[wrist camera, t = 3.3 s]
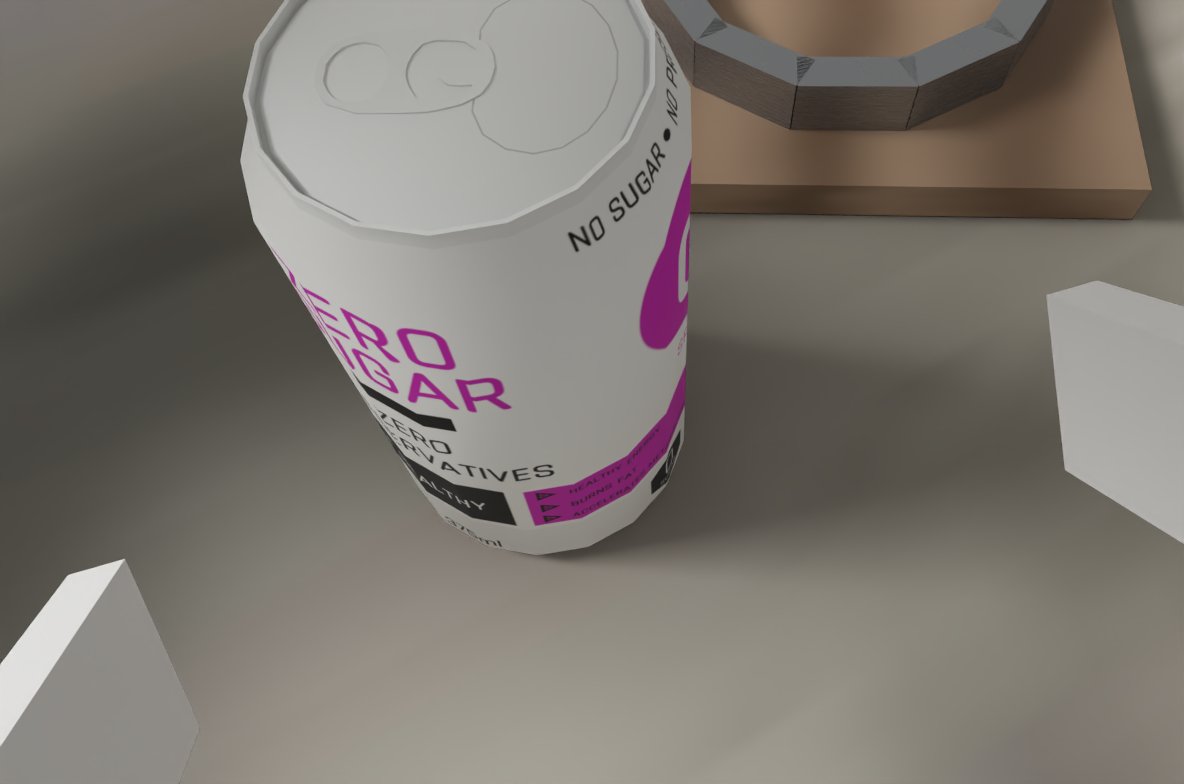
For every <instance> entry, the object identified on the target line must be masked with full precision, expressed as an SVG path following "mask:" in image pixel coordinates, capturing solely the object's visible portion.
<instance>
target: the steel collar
mask: <svg viewBox="0 0 1184 784" xmlns="http://www.w3.org/2000/svg"><path fill="white" fill-rule="evenodd" d="M1053 1H1054V0H1001V2H1000V3H999V5H998V6H997V8H996V9H995V11H994V12H993V14H992V15H991V17H990V18H989V20H988V21H986V22H984V23H981V24H979V25H977V26H975V27H972V28H970V29H968V30H965V31H963V32H961V33H959V34H956V35H954V36H952V37H949V38H947V39H945V40H943V41H940V42H938V43H936V44H933V45H931V46H929V47H927V48H924V49H922V50H920V51H918V52H915V53H913V54H911V55H908V56H906V57H806V56H804V55H802V54H799V53H797V52H795V51H792V50H790V49H787V48H785V47H783V46H780V45H778V44H776V43H773V42H771V41H769V40H766V39H764V38H761V37H759V36H757V35H754V34H752V33H750V32H747V31H745V30H743V29H740V28H738V27H735V26H733V25H731V24H728V23H726V22H724V21H722V19H721V18H720V17H719V15H718V14H717V13H716V11H715V10H714V9H713V8H712V6H711V5H710V4H709V2H708V1H707V0H643V6H644V8H645V10H646V12H647V14H648V16H649V17H650V18H651V19H652V20H653V22H654V23H655V24H656V25H657V27H658V28H659V29H660V30H661V31H662V33H663V34H664V36H665V38H666V40H667V42H668V44H669V46H670V48H671V50H672V52H673V54H674V56H675V58H676V60H677V62H678V64H679V66H680V68H681V70H682V71H683V73H684V74H685V76H686V77H687V78H688V80H689V81H690V83H691V84H692V85H693V86H694V87H695V88H698V89H700V90H702V91H704V92H706V93H709V94H711V95H713V96H715V97H718V98H720V99H722V100H724V101H726V102H729V103H731V104H733V105H735V106H738V107H740V108H742V109H744V110H746V111H749V112H751V113H753V114H755V115H758V116H760V117H762V118H764V119H766V120H769V121H771V122H773V123H775V124H778V125H780V126H782V127H784V128H786V129H789V130H790V128H791V130H836V131H905V130H906V131H907V130H909V129H911V128H913V127H916V126H918V125H920V124H922V123H924V122H927V121H929V120H931V119H933V118H935V117H938V116H940V115H942V114H944V113H947V112H949V111H951V110H953V109H955V108H958V107H960V106H962V105H964V104H967V103H969V102H971V101H973V100H975V99H978V98H980V97H982V96H984V95H987V94H989V93H991V92H993V91H995V90H998V89H1000V88H1001V87H1002V86H1003V84H1004V83H1005V81H1006V80H1007V78H1008V77H1009V75H1010V73H1011V72H1012V70H1013V69H1014V67H1015V66H1016V64H1017V63H1018V61H1019V59H1020V58H1021V56H1022V55H1023V53H1024V52H1025V50H1026V49H1027V47H1028V45H1029V44H1030V42H1031V41H1032V39H1033V38H1034V36H1035V35H1036V33H1037V31H1038V30H1039V28H1040V27H1041V25H1042V24H1043V22H1044V21H1045V19H1046V17H1047V15H1048V13H1049V11H1050V8H1051V6H1052V4H1053Z"/></svg>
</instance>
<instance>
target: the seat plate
mask: <svg viewBox="0 0 1184 784" xmlns="http://www.w3.org/2000/svg"><path fill="white" fill-rule="evenodd" d="M707 1H708V2H709V4H710V5H711V6H712V8H713V9H714V10H715V11H716V13H717V14H718V15H719V17H720V18H721V19H722V21H724V22H726V23H728V24H731V25H733V26H735V27H738V28H740V29H743V30H745V31H747V32H750V33H752V34H754V35H757V36H759V37H761V38H764V39H766V40H769V41H771V42H773V43H776V44H778V45H780V46H783V47H785V48H787V49H790V50H792V51H795V52H797V53H799V54H802V55H804V56H806V57H906V56H908V55H911V54H913V53H915V52H918V51H920V50H922V49H924V48H927V47H929V46H931V45H933V44H936V43H938V42H940V41H943V40H945V39H947V38H949V37H952V36H954V35H956V34H959V33H961V32H963V31H965V30H968V29H970V28H972V27H975V26H977V25H979V24H981V23H984V22H986V21H988V20H989V18H990V17H991V15H992V14H993V12H994V11H995V9H996V8H997V6H998V5H999V3H1000V2H1001V0H707ZM641 2H642V4H643V0H641ZM682 72H683V71H682ZM683 74H684V73H683ZM684 76H685V74H684ZM685 78H686V80H687V82H688V84H689V86H690V87H691V135H692V161H691V197H690V212H709V213H774V214H839V215H903V216H968V217H1033V218H1098V219H1132V218H1133V217H1134V215H1135V214H1136V212H1137V211H1138V210H1139V208H1140V207H1141V205H1142V204H1143V202H1144V201H1145V199H1146V198H1147V196H1148V195H1149V193H1150V192H1151V190H1152V187H1151V183H1150V178H1149V173H1148V168H1147V164H1146V159H1145V154H1144V149H1143V145H1142V140H1141V135H1140V131H1139V126H1138V121H1137V116H1136V112H1135V107H1134V102H1133V98H1132V93H1131V88H1130V83H1129V79H1128V74H1127V69H1126V64H1125V60H1124V55H1123V50H1122V46H1121V41H1120V36H1119V31H1118V27H1117V22H1116V17H1115V13H1114V8H1113V3H1112V0H1054V1H1053V4H1052V6H1051V8H1050V11H1049V13H1048V15H1047V17H1046V19H1045V21H1044V22H1043V24H1042V25H1041V27H1040V28H1039V30H1038V31H1037V33H1036V35H1035V36H1034V38H1033V39H1032V41H1031V42H1030V44H1029V45H1028V47H1027V49H1026V50H1025V52H1024V53H1023V55H1022V56H1021V58H1020V59H1019V61H1018V63H1017V64H1016V66H1015V67H1014V69H1013V70H1012V72H1011V73H1010V75H1009V77H1008V78H1007V80H1006V81H1005V83H1004V84H1003V86H1002V87H1001V88H1000V89H998V90H995V91H993V92H991V93H989V94H987V95H984V96H982V97H980V98H978V99H975V100H973V101H971V102H969V103H967V104H964V105H962V106H960V107H958V108H955V109H953V110H951V111H949V112H947V113H944V114H942V115H940V116H938V117H935V118H933V119H931V120H929V121H927V122H924V123H922V124H920V125H918V126H916V127H913V128H911V129H909V130H907V131H906V130H905V131H836V130H791V128H790V130H789V129H786V128H784V127H782V126H780V125H778V124H775V123H773V122H771V121H769V120H766V119H764V118H762V117H760V116H758V115H755V114H753V113H751V112H749V111H746V110H744V109H742V108H740V107H738V106H735V105H733V104H731V103H729V102H726V101H724V100H722V99H720V98H718V97H715V96H713V95H711V94H709V93H706V92H704V91H702V90H700V89H698V88H695V87H694V86H693V85H692V84H691V83H690V81H689V80H688V78H687V77H686V76H685Z"/></svg>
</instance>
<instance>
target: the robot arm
mask: <svg viewBox="0 0 1184 784" xmlns="http://www.w3.org/2000/svg"><path fill="white" fill-rule="evenodd" d="M1046 297H1047V306H1048V316H1049V325H1050V335H1051V344H1052V353H1053V363H1054V372H1055V382H1056V391H1057V401H1058V410H1059V419H1060V429H1061V438H1062V448H1063V457H1064V466H1065V470H1066V471H1067V472H1069V473H1070V474H1072V475H1074V476H1075V477H1077V478H1078V479H1080V480H1082V481H1083V482H1085V483H1087V484H1088V485H1090V486H1091V487H1093V488H1095V489H1096V490H1098V491H1099V492H1101V493H1103V494H1104V495H1106V496H1107V497H1109V498H1111V499H1112V500H1114V501H1115V502H1117V503H1119V504H1120V505H1122V506H1124V507H1125V508H1127V509H1128V510H1130V511H1132V512H1133V513H1135V514H1136V515H1138V516H1140V517H1141V518H1143V519H1144V520H1146V521H1148V522H1149V523H1151V524H1153V525H1154V526H1156V527H1157V528H1159V529H1161V530H1162V531H1164V532H1165V533H1167V534H1169V535H1170V536H1172V537H1173V538H1175V539H1177V540H1178V541H1180V542H1181V543H1183V544H1184V307H1183V306H1180V305H1177V304H1173V303H1170V302H1167V301H1163V300H1160V299H1157V298H1154V297H1150V296H1147V295H1144V294H1140V293H1137V292H1134V291H1130V290H1127V289H1124V288H1120V287H1117V286H1114V285H1110V284H1107V283H1104V282H1101V281H1093V282H1090V283H1086V284H1083V285H1079V286H1076V287H1072V288H1069V289H1065V290H1062V291H1058V292H1055V293H1051V294H1048V295H1046ZM199 729H200V726H199V723H198V721H197V719H196V717H195V714H194V712H193V710H192V708H191V706H190V703H189V701H188V699H187V697H186V694H185V692H184V690H183V688H182V685H181V683H180V681H179V679H178V676H177V674H176V672H175V670H174V667H173V665H172V663H171V661H170V658H169V656H168V654H167V652H166V649H165V647H164V645H163V643H162V640H161V638H160V636H159V634H158V632H157V629H156V627H155V625H154V623H153V620H152V618H151V616H150V614H149V611H148V609H147V607H146V605H145V602H144V600H143V598H142V596H141V593H140V591H139V589H138V587H137V584H136V582H135V580H134V578H133V575H132V573H131V571H130V569H129V566H128V564H127V562H126V560H125V559H122V560H119V561H115V562H112V563H108V564H105V565H101V566H98V567H94V568H91V569H87V570H84V571H80V572H77V573H73V574H70V575H68V576H67V577H66V578H65V580H64V581H63V582H62V584H61V585H60V586H59V588H58V589H57V590H56V592H55V593H54V594H53V596H52V597H51V598H50V599H49V601H48V602H47V603H46V605H45V606H44V607H43V609H42V610H41V611H40V613H39V614H38V615H37V617H36V618H35V619H34V621H33V622H32V623H31V625H30V626H29V627H28V629H27V630H26V631H25V632H24V634H23V635H22V636H21V638H20V639H19V640H18V642H17V643H16V644H15V646H14V647H13V648H12V650H11V651H10V652H9V654H8V655H7V656H6V658H5V659H4V660H3V662H2V663H1V664H0V784H179V783H180V780H181V778H182V775H183V772H184V770H185V767H186V764H187V762H188V759H189V756H190V754H191V751H192V748H193V745H194V743H195V740H196V737H197V735H198V732H199Z"/></svg>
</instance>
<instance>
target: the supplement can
mask: <svg viewBox="0 0 1184 784" xmlns="http://www.w3.org/2000/svg"><path fill="white" fill-rule="evenodd" d="M243 100H244V104H245V108H246V113H247V117H248V121H247V127H246V132H245V138H244V143H243V149H242V154H241V160H240V162H241V167H242V171H243V176H244V180H245V185H246V189H247V194H248V199H249V203H250V208H251V212H252V217H253V221H254V223H255V225H256V226H257V228H258V230H259V231H260V233H261V235H262V236H263V238H264V239H265V241H266V243H267V244H268V246H269V247H270V249H271V251H272V252H273V254H274V255H275V257H276V259H277V260H278V262H279V264H280V265H281V267H282V268H283V270H284V272H285V273H286V275H287V276H288V278H289V280H290V281H291V283H292V284H293V286H294V288H295V289H296V291H297V293H298V294H299V296H300V297H301V299H302V301H303V302H304V304H305V305H306V307H307V309H308V310H309V312H310V314H311V315H312V317H313V318H314V320H315V322H316V323H317V325H318V326H319V328H320V330H321V331H322V333H323V334H324V336H325V338H326V339H327V341H328V343H329V344H330V346H331V347H332V349H333V351H334V352H335V354H336V355H337V357H338V359H339V360H340V362H341V364H342V365H343V367H344V368H345V370H346V372H347V373H348V375H349V376H350V378H351V380H352V381H353V383H354V384H355V386H356V388H357V389H358V391H359V393H360V394H361V396H362V397H363V399H364V401H365V402H366V404H367V405H368V407H369V409H370V410H371V412H372V414H373V415H374V417H375V418H376V420H377V422H378V423H379V425H380V426H381V428H382V430H383V431H384V433H385V434H386V436H387V438H388V439H389V441H390V443H391V444H392V446H393V447H394V449H395V451H396V452H397V454H398V455H399V457H400V459H401V460H402V462H403V463H404V465H405V467H406V468H407V470H408V472H409V473H410V475H411V476H412V478H413V480H414V481H415V483H416V484H417V486H418V487H419V488H420V490H421V491H422V492H423V494H424V495H425V496H426V498H427V499H428V500H429V501H430V503H431V504H432V505H433V507H434V508H435V509H436V511H437V512H438V513H439V514H440V516H441V517H442V518H443V520H444V521H445V522H447V523H448V524H450V525H452V526H453V527H455V528H457V529H458V530H460V531H462V532H463V533H465V534H467V535H469V536H470V537H472V538H474V539H475V540H477V541H479V542H480V543H482V544H484V545H485V546H488V547H493V548H499V549H504V550H510V551H516V552H521V553H527V554H532V555H542V554H548V553H554V552H560V551H566V550H573V549H579V548H585V547H589V546H591V545H593V544H595V543H596V542H598V541H600V540H602V539H604V538H606V537H607V536H609V535H611V534H613V533H615V532H617V531H619V530H620V529H622V528H624V527H626V526H628V525H630V524H631V523H633V522H634V521H635V520H636V519H637V518H638V517H639V516H640V515H641V514H642V512H643V511H644V510H645V509H646V508H647V507H648V506H649V505H650V503H651V502H652V501H653V500H654V499H655V498H656V497H657V496H658V495H659V493H660V492H661V491H662V490H663V489H664V488H665V487H666V486H667V484H668V481H669V478H670V476H671V473H672V471H673V468H674V465H675V463H676V460H677V458H678V455H679V452H680V450H681V447H682V444H683V442H684V416H685V379H686V343H687V307H688V270H689V234H690V197H691V161H692V135H691V87H690V86H689V84H688V82H687V80H686V78H685V76H684V74H683V72H682V70H681V68H680V66H679V64H678V62H677V60H676V58H675V56H674V54H673V52H672V50H671V48H670V46H669V44H668V42H667V40H666V38H665V36H664V34H663V33H662V31H661V30H660V29H659V28H658V27H657V25H656V24H655V23H654V22H653V20H652V19H651V18H650V17H649V16H648V14H647V12H646V10H645V8H644V6H643V4H642V2H641V0H284V2H283V3H282V5H281V6H280V8H279V9H278V10H277V12H276V13H275V15H274V16H273V18H272V19H271V20H270V22H269V23H268V25H267V26H266V28H265V29H264V31H263V32H262V33H261V35H260V36H259V38H258V39H257V41H256V42H255V46H254V50H253V54H252V59H251V63H250V67H249V72H248V76H247V80H246V84H245V89H244V93H243Z"/></svg>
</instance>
